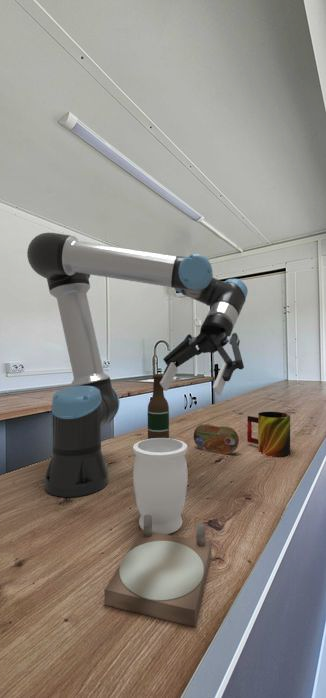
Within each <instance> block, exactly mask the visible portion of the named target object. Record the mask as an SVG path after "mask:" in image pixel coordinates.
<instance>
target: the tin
mask: <svg viewBox="0 0 326 698" xmlns="http://www.w3.org/2000/svg"><path fill="white" fill-rule="evenodd" d="M193 441H194V444H195V445H196V446H197V448H198V449H200V450H201V451H206V452H211V453H216V454H217V453H218V454H223V455H230V454H232V453H234V451H236V450H237V449H238V447H239V443H240V438H239V435H238V432H236V430H235V429H234V428H232V427H231V426H225V425H219V424H218V425H217V424H208V423H206V424H205V423H204V424H200V425H198V426H197V427H196V428H195V429H194V432H193Z"/></svg>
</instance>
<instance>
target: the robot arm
mask: <svg viewBox="0 0 326 698" xmlns="http://www.w3.org/2000/svg"><path fill="white" fill-rule="evenodd" d="M26 254H27V261H28V263H29V265H30V267H31V268H32V270H33V271H34V272H35V273H36V274H38V275H39V276H40V277H43V278H44V279H46V281H47V286H48V287H47V288H48V291H49V294H50V295H51V296H52V297H54V298H56V301H57V302H56V303H57V307H58V311H59V315H60V320H61V324H62V330H63V335H64V340H65V342H66V348H67V353H68V357H69V362H70V367H71V371H72V376H73V380H72V382H71V383H70V385H69V387H65V388H61V389H59V390H58V391H56V392H55V393H54V394H53V396H52V402H51V408H50V409H51V430H52V431H51V436H52V437H51V438H52V439H51V443H52V444H51V445H52V446H51V447H52V455H51V458H50V461H49V464H48V468H47V471H46V475H45V478H44V489H45V491H46V492H47V493H49V494H50V495H53V496H55V497H56V496H57V497H62V498H74V497H81V496H82V497H83V496H87V495H92V494H94V493H96V492H98V491H100V490H102V489H103V488H105V487H106V486H107V485H108V483H109V470H108V467H107V463H106V460H105V458H104V455H103V452H102V428H103V427H104V426H107V425H108V424H109V423H111V422H112V421H113V420H114V419H115V417H116V415H117V414H118V412H119V409H120V398H119V395H118V392H117V391H116V390H115V389H114V388H113V386H112V381H111V376H109V375H108V374H106V373H105V372H104V368H103V363H102V359H101V355H100V350H99V346H98V341H97V337H96V331H95V328H94V324H93V323H94V322H93V318H92V313H91V309H90V304H89V300H88V295H87V293H88V292H89V290H90V289H91V285H90V284H91V283H90V278H91V276H97V277H98V276H99V277H105V278H110V279H117V280H121V281H130V282H136V283H142V284H149V285H155V286H160V287H161V286H162V287H167V288H174V290H175V291H176V292H178V293H180V294H182V295H183V296H186V297H188V298H190V299H193V300H194V301H197V302H200V303H202V304H204V305H206V306H208V307H210V309H209V311H208V312H207V314H206V317H205V319H204V321H203V323H202V325H201V326H200V330H199V331H200V332H199V334H198V335H197V336H192V334H187V335H186V337H184V339H183V341H181V342H180V343H179V344H178V345H177V346H176V347H175V348H174V349H172V350H171V351H170V352H169V353H168V354H167V355H166V356H165V357H164V358H163V361H164V363H165V364H166V367H165V369H164V371H163V378H162V380H161V382H160V384H161V386H162V387H163V391H166V392H167V391H168V390H169V388H170V386H171V384H172V382H173V381H174V379H175V376H176V374H177V373H178V370H179V369H178V367H180V366H181V365H183V364H184V363H186V362H187V361H189V360H190V359H192V358H193V357H195V356H199V355H201V354H206V353H210V354H214V353H215V352H218V354H219V355H220V357H221V358H222V360H223V361H224V363H222V364H221V367H220V369H219V372H218V374H217V376H216V379H215V381H214V383H213V386H212V389H213V390H214V392H215V395H217V396H221V395H222V393H223V389H224V387H225V385H226V382H230V380H231V378H232V376H233V373H234V371H236V370H244V368H245V365H244V362H243V357H242V354H241V350H240V347H239V346H240V341H241V340H240V339H239V336H238V334H237V333H236V332H233V329H234V328H235V326H236V323H237V321H238V318H239V315H240V314H241V311H242V310H243V307H244V305H245V302H246V299H247V296H248V287H247V285H246V284H245V283H244V281H242V280H241V279H239V278H229V279H226V280H225V281H222V280H219V279H218V278H215V277H214V273H213V268H212V264H211V261H210V260H209V259H208V258H206V256H205V255H203V254H198V253H193V254H190V255H187V256H180V255H179V256H178V255H172V254H166V253H159V252H153V251H147V250H146V251H145V250H138V249H134V248H133V249H132V248H125V247H120V246H114V245H106V244H100V243H94V242H93V243H92V242H86V241H81V240H80V241H79V240H78V238H77V237H76V236H75V235H70V234H64V233H58V232H57V233H56V232H44V233H39V234H38V235H36V236H35V237H33V239H32V240H31V241H30V243H29V244H28V248H27V252H26ZM227 344H230V345H231V348H232V353H233V356H234V360H232V358H231V357H230V355H228V352H227V351H226V350H225V348H224V347H225V346H226V345H227ZM197 347H198V348H197Z"/></svg>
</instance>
